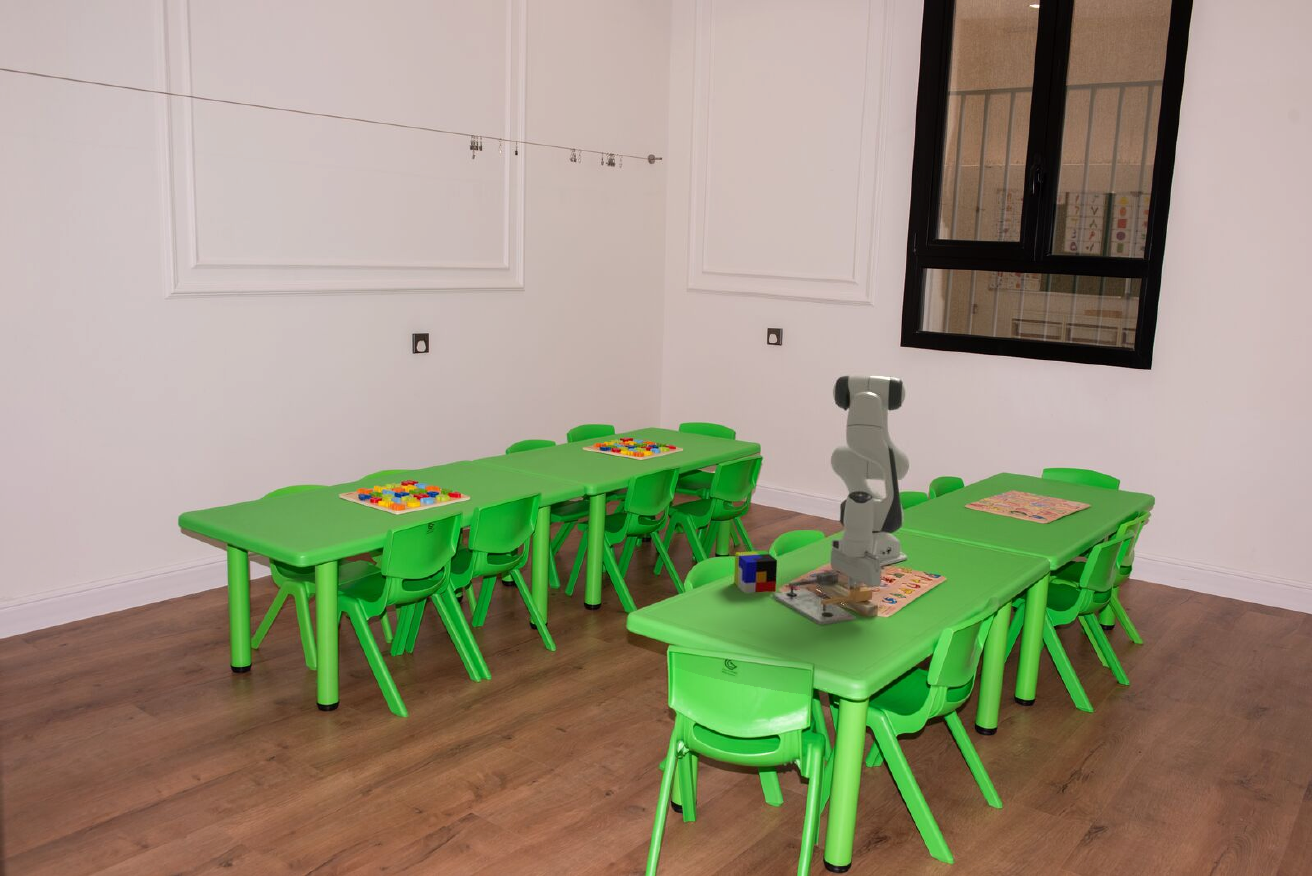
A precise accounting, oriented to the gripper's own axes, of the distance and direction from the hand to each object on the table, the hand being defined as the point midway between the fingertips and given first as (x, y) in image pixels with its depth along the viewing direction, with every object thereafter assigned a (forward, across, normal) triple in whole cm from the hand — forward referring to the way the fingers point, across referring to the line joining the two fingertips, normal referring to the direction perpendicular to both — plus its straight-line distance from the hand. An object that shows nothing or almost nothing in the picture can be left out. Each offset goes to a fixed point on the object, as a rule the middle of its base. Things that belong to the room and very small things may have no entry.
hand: (854, 592), depth 309 cm
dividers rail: (+5, +4, +5) cm, 8 cm away
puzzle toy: (+5, +26, +18) cm, 32 cm away
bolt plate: (+5, +4, +12) cm, 13 cm away
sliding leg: (+3, -3, +5) cm, 7 cm away
